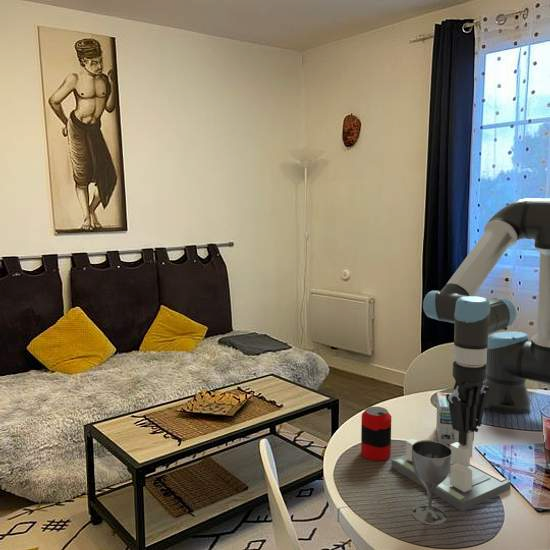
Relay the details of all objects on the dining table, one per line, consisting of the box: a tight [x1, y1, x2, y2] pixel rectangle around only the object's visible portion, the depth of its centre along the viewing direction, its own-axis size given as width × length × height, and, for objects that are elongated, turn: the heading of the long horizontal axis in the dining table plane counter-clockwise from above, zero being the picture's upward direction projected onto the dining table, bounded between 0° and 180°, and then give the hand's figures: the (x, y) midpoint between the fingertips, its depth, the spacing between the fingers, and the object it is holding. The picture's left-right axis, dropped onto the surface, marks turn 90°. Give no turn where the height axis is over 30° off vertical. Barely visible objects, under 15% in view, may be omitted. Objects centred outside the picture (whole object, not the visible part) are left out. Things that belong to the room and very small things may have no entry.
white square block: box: [449, 442, 471, 467], centre depth 133 cm, size 2×4×4 cm, turn 30°
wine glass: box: [411, 439, 452, 526], centre depth 116 cm, size 8×8×15 cm
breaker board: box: [391, 454, 511, 512], centre depth 131 cm, size 16×22×2 cm
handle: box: [405, 438, 419, 461], centre depth 135 cm, size 2×4×4 cm, turn 31°
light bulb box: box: [435, 391, 459, 445], centre depth 152 cm, size 11×7×11 cm, turn 168°
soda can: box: [360, 406, 392, 462], centre depth 142 cm, size 8×8×12 cm
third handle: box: [450, 463, 472, 492], centre depth 123 cm, size 2×4×4 cm, turn 31°
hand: (465, 455), depth 134 cm, fingers closed
